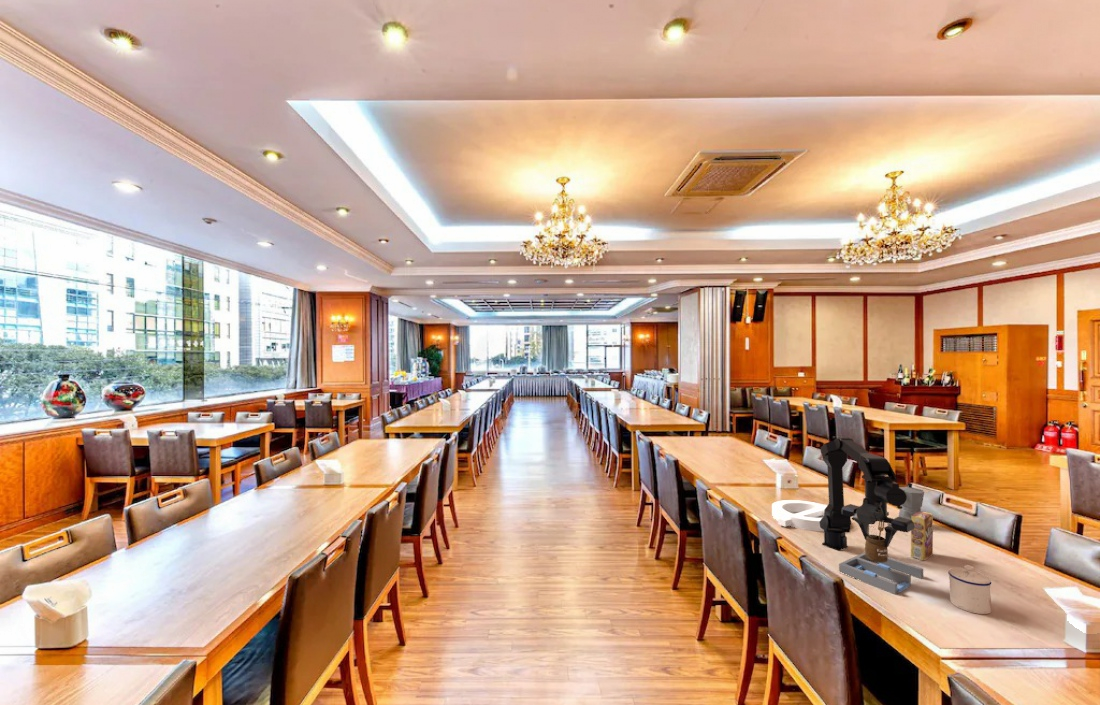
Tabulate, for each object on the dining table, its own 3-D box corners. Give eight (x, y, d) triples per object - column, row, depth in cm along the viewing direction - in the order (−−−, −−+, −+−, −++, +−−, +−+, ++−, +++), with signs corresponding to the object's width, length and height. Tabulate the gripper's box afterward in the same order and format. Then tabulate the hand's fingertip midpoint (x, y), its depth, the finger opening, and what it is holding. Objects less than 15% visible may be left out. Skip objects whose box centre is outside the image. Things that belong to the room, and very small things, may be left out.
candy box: (925, 561, 155) (924, 518, 155) (910, 557, 159) (909, 515, 159) (934, 555, 160) (933, 513, 160) (919, 551, 164) (918, 510, 164)
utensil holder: (861, 556, 144) (860, 520, 145) (873, 553, 147) (872, 517, 147) (880, 564, 139) (879, 526, 139) (892, 560, 142) (891, 523, 142)
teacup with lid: (1001, 616, 122) (1000, 574, 122) (964, 613, 123) (963, 572, 124) (967, 594, 134) (966, 555, 134) (934, 591, 135) (933, 554, 136)
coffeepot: (911, 519, 196) (910, 479, 196) (934, 527, 186) (933, 485, 187) (884, 522, 192) (883, 481, 193) (905, 530, 183) (904, 487, 183)
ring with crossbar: (779, 528, 187) (778, 517, 187) (766, 507, 214) (766, 497, 214) (854, 535, 179) (854, 524, 179) (832, 512, 206) (831, 502, 206)
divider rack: (839, 572, 148) (839, 562, 148) (868, 558, 158) (868, 548, 158) (895, 594, 134) (895, 582, 134) (924, 577, 144) (923, 567, 144)
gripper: (832, 492, 147) (833, 538, 147) (898, 508, 131) (899, 560, 131) (849, 487, 153) (850, 532, 153) (914, 502, 137) (915, 552, 136)
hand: (876, 543), depth 143 cm, fingers closed on utensil holder, 5 cm apart
